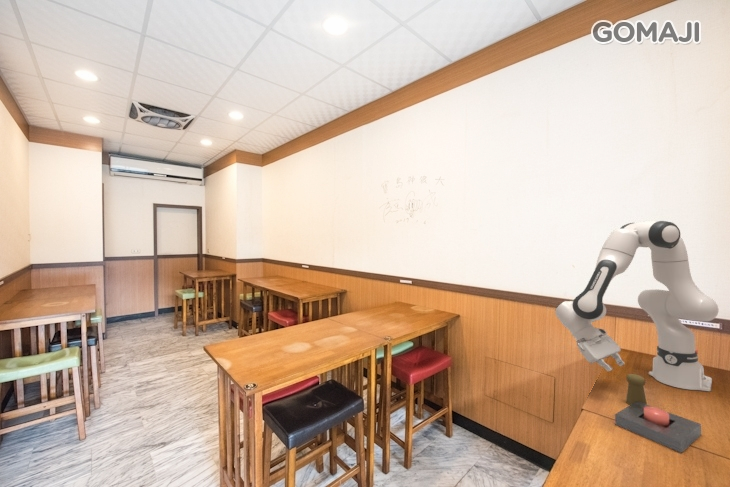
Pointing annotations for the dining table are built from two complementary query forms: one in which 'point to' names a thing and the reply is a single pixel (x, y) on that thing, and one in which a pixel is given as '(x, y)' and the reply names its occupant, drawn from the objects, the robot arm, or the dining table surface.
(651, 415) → the button
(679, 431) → the switch box
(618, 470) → the dining table surface
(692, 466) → the dining table surface
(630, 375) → the olive pepper mill
